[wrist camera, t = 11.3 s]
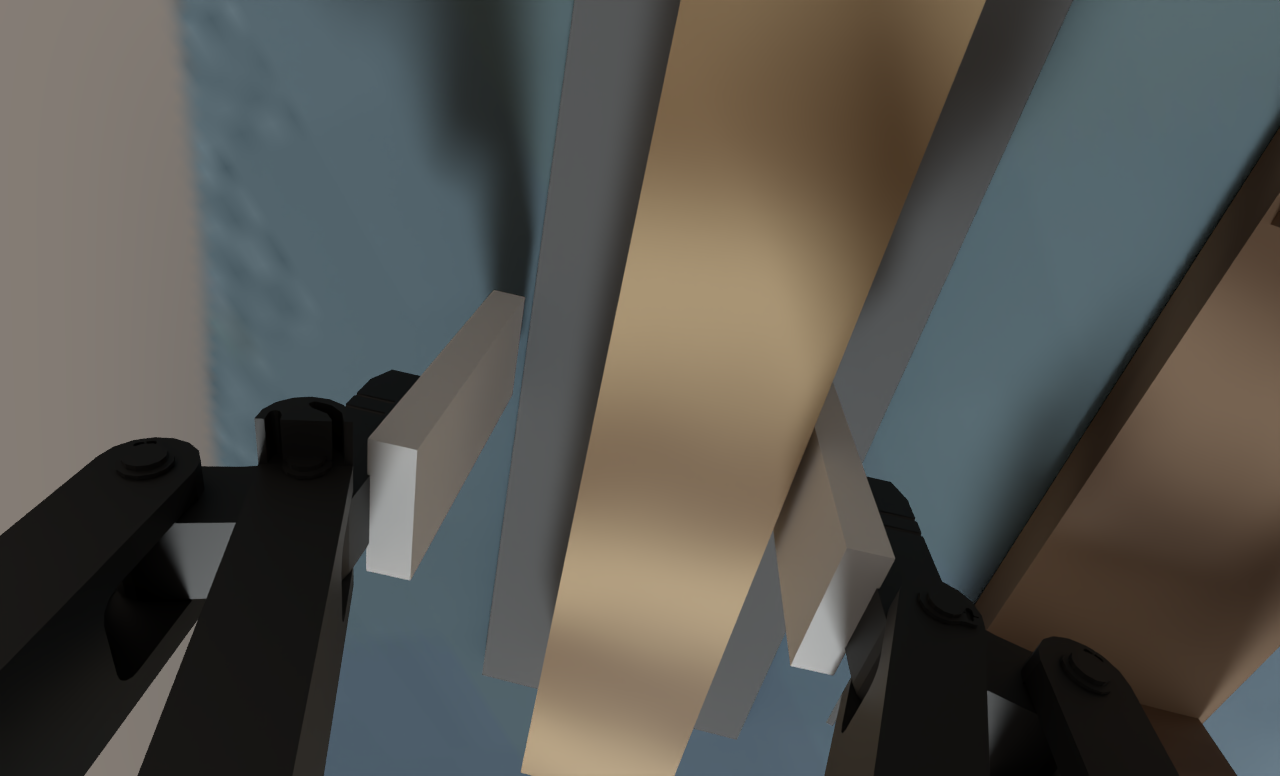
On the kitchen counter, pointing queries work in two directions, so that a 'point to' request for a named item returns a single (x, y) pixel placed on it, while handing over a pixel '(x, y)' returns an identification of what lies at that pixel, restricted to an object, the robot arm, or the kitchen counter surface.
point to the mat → (593, 273)
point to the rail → (728, 345)
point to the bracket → (1174, 497)
